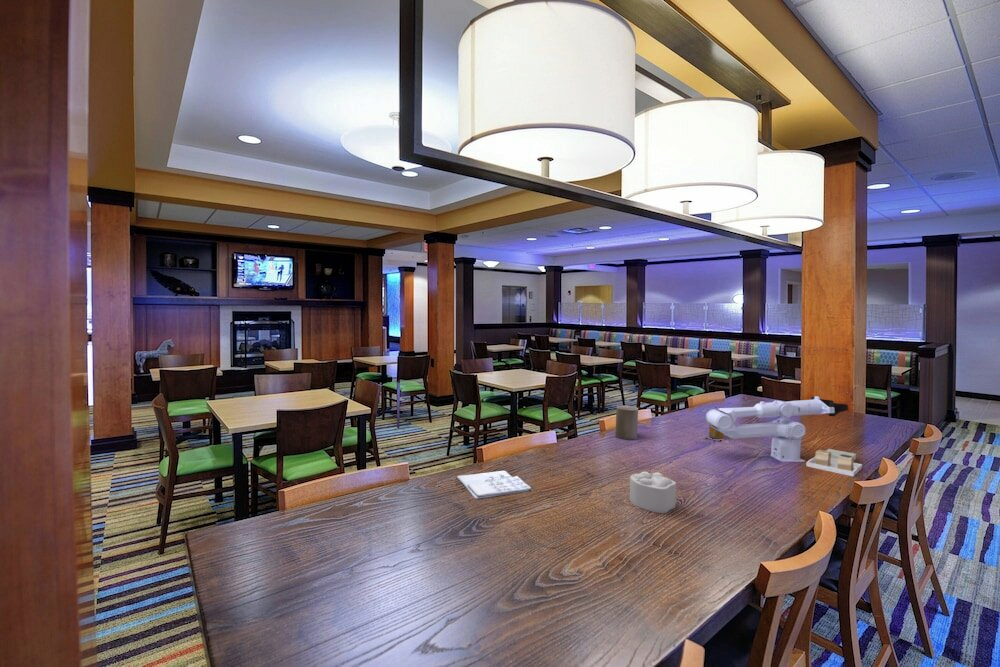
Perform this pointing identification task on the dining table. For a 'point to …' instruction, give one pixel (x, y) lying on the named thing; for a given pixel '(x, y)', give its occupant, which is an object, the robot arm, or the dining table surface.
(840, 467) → the labelled block
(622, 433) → the pillar candle
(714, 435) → the condiment
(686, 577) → the dining table surface
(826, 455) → the plain block
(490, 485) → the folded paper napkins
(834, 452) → the sage stand
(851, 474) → the parts tray
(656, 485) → the lumpy-topped squat cylinder
